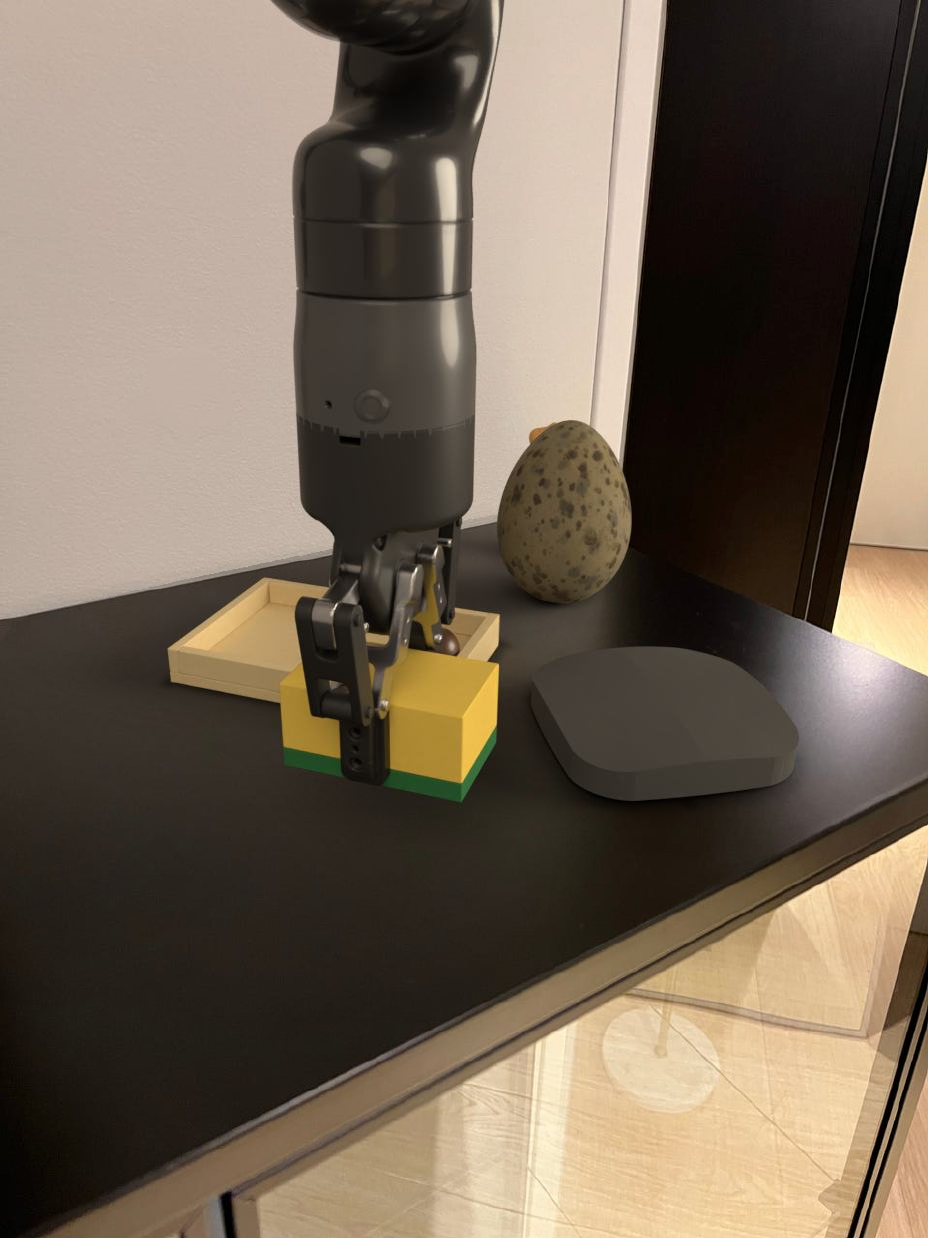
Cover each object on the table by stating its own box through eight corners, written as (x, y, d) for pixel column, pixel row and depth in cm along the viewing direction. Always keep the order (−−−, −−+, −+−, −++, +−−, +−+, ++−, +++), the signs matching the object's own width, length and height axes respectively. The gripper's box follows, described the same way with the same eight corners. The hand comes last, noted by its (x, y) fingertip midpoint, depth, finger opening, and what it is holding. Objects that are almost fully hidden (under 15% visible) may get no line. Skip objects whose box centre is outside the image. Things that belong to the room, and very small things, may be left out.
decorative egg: (644, 620, 81) (663, 435, 75) (514, 631, 79) (523, 441, 73) (597, 570, 91) (611, 402, 84) (480, 578, 88) (485, 406, 82)
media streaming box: (582, 814, 57) (586, 769, 56) (516, 690, 70) (518, 651, 69) (817, 788, 60) (826, 744, 59) (713, 673, 73) (718, 636, 72)
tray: (170, 682, 70) (166, 648, 69) (266, 606, 82) (264, 576, 81) (437, 734, 65) (437, 698, 64) (498, 645, 77) (499, 614, 75)
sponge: (283, 765, 49) (278, 682, 47) (332, 711, 54) (329, 634, 52) (461, 803, 46) (463, 717, 44) (496, 742, 51) (499, 663, 49)
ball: (428, 629, 68) (461, 663, 68) (442, 610, 71) (474, 643, 71) (398, 655, 70) (430, 688, 70) (413, 636, 72) (444, 668, 73)
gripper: (371, 364, 50) (377, 669, 57) (216, 433, 37) (249, 812, 45) (518, 376, 48) (505, 692, 55) (407, 454, 35) (408, 849, 42)
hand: (390, 744), depth 50 cm, fingers closed on sponge, 5 cm apart
